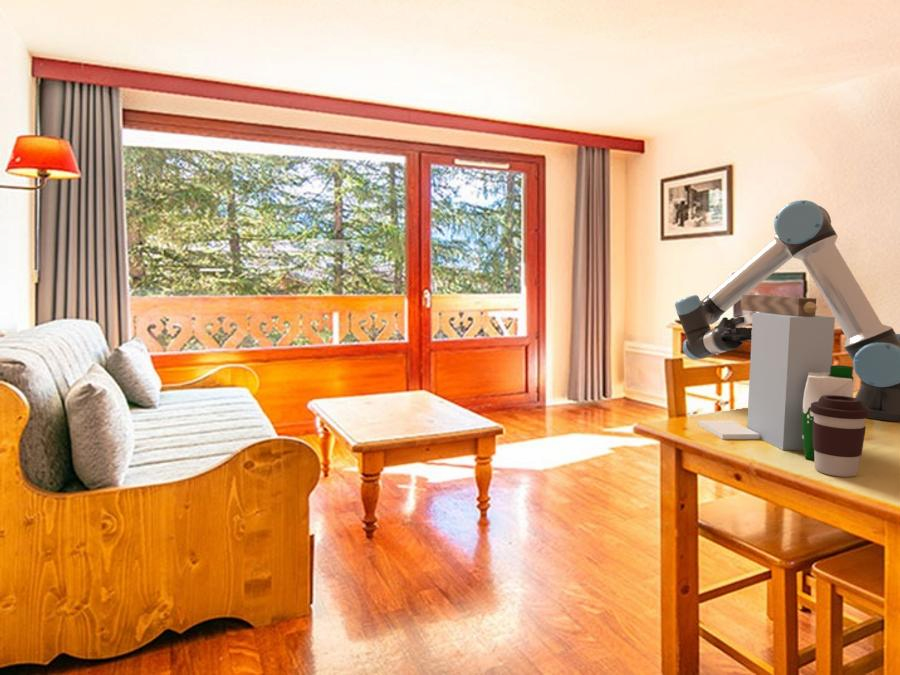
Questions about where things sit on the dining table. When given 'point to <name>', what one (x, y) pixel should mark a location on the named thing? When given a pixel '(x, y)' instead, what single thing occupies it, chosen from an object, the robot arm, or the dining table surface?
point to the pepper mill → (779, 305)
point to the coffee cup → (838, 434)
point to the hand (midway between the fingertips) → (777, 321)
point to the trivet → (728, 430)
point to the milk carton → (819, 386)
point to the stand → (785, 372)
